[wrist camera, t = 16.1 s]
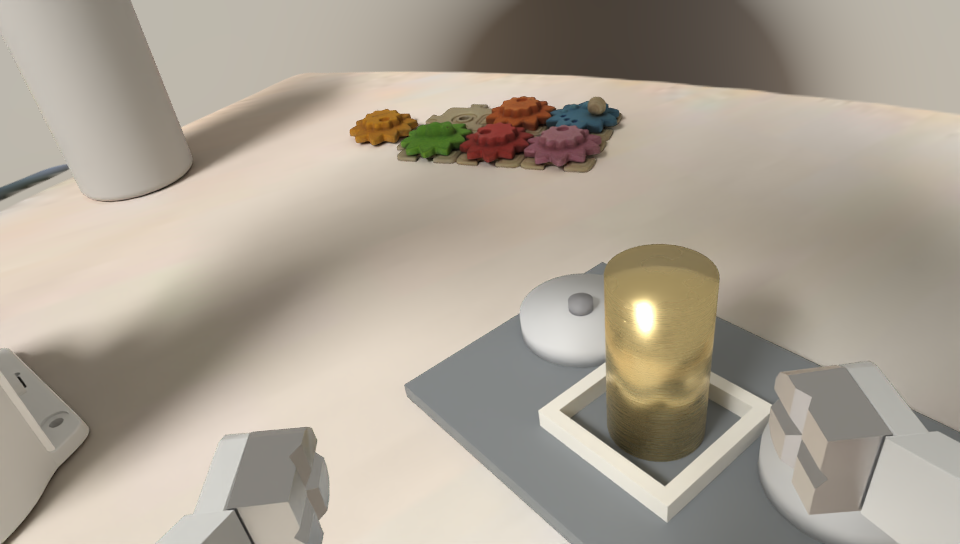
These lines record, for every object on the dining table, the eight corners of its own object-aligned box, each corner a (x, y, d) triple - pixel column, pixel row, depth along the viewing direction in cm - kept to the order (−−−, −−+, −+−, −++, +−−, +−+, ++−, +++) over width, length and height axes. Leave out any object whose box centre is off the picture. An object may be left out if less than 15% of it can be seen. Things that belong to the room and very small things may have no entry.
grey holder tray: (407, 396, 43) (397, 358, 41) (602, 273, 51) (601, 236, 50) (792, 743, 25) (804, 702, 23) (997, 467, 33) (1017, 421, 32)
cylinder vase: (212, 169, 79) (121, -68, 65) (104, 215, 72) (-22, -38, 59) (170, 147, 87) (81, -68, 73) (69, 186, 80) (-49, -42, 67)
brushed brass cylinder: (594, 446, 36) (589, 296, 31) (621, 382, 40) (621, 238, 35) (694, 473, 34) (707, 317, 29) (713, 402, 38) (728, 252, 32)
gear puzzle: (325, 161, 78) (316, 128, 76) (393, 108, 90) (387, 78, 87) (591, 180, 66) (589, 140, 63) (629, 115, 77) (629, 80, 75)
